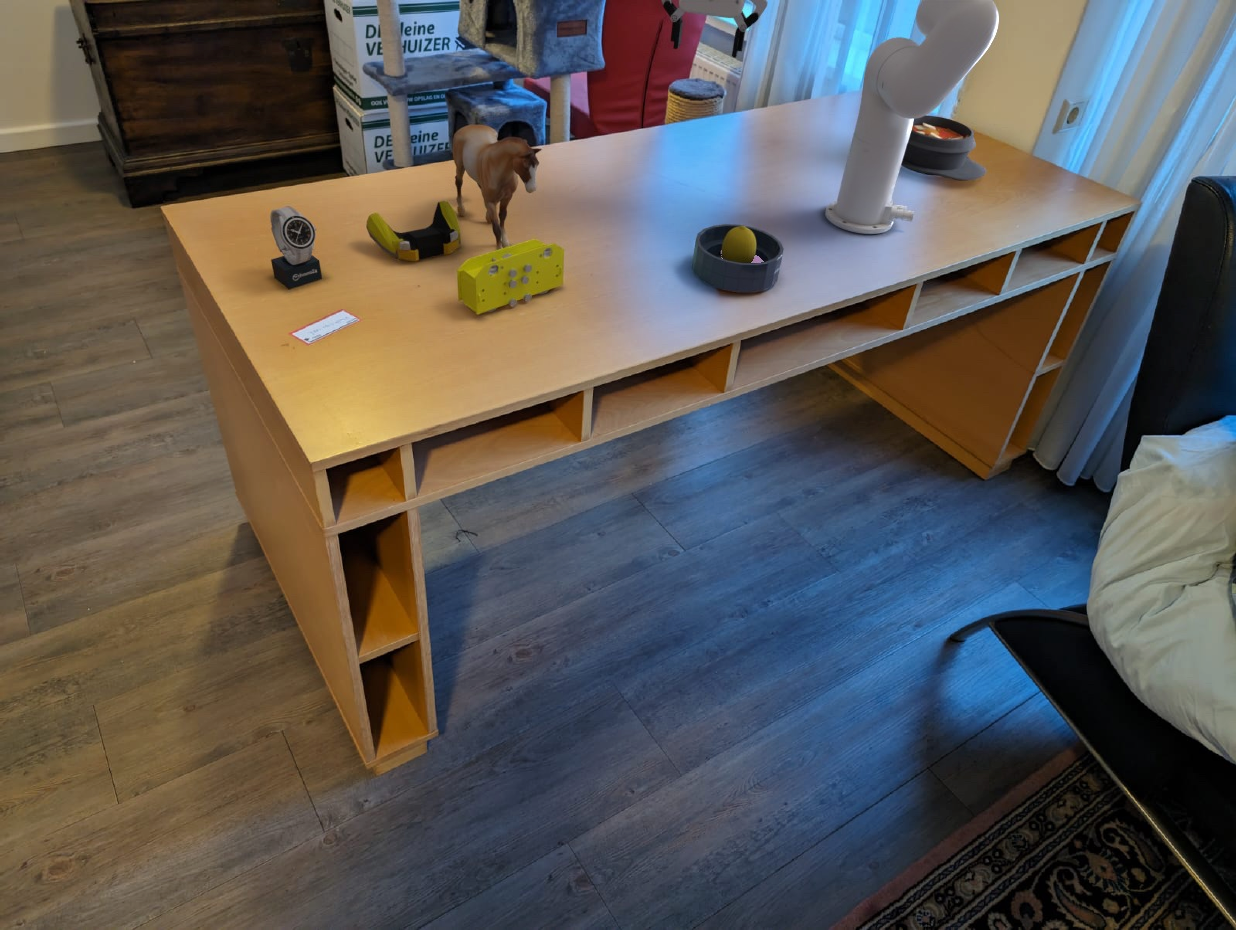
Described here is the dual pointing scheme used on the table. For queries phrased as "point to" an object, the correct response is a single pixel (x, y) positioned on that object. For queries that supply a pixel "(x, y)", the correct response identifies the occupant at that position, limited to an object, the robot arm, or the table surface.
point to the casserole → (941, 149)
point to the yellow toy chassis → (510, 275)
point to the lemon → (739, 245)
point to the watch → (294, 248)
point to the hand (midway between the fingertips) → (705, 51)
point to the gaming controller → (418, 236)
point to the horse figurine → (493, 170)
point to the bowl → (734, 273)
